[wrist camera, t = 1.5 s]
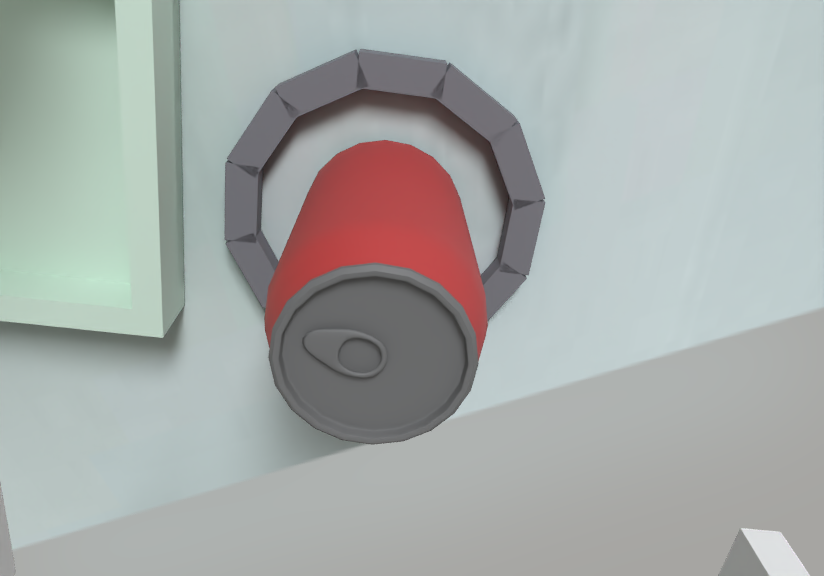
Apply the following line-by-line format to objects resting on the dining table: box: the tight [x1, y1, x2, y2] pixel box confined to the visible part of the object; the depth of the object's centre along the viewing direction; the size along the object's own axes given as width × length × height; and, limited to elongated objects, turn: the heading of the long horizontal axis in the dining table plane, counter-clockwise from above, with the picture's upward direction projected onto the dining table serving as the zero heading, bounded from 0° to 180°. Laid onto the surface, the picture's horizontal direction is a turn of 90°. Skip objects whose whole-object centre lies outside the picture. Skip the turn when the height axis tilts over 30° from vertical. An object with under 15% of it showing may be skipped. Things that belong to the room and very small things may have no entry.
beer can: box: [264, 140, 488, 444], centre depth 23 cm, size 7×7×12 cm
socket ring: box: [225, 49, 545, 321], centre depth 28 cm, size 13×13×1 cm
